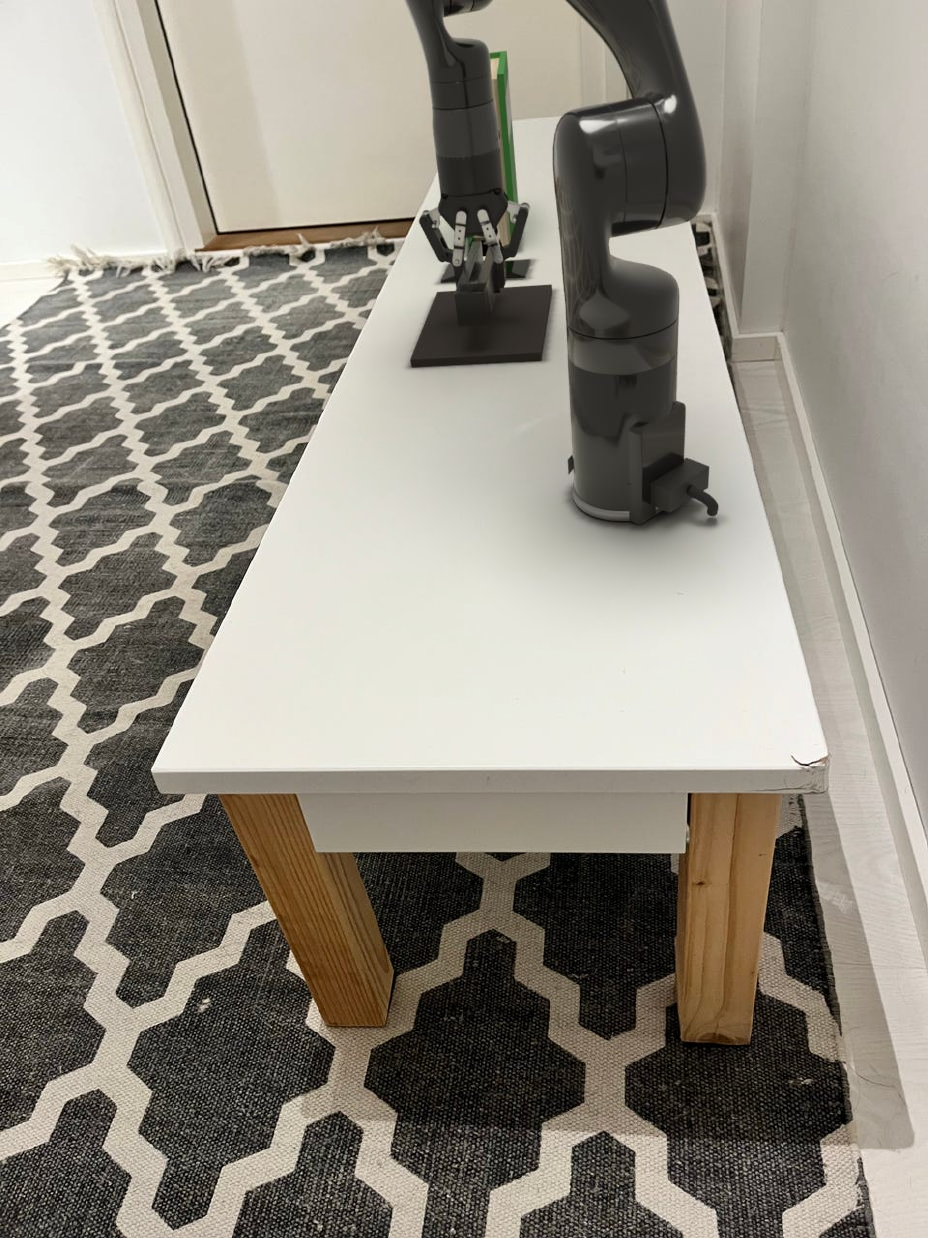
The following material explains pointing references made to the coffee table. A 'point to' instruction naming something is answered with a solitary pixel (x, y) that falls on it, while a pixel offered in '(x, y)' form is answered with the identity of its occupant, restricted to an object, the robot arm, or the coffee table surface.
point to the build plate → (512, 267)
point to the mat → (486, 330)
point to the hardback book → (504, 138)
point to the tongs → (475, 288)
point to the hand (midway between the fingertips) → (482, 290)
